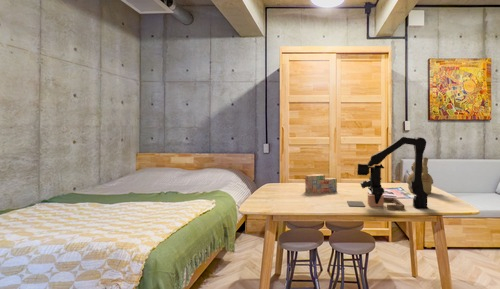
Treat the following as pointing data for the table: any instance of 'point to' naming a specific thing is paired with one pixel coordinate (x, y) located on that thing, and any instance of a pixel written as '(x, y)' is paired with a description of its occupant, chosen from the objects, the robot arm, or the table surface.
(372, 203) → the terracotta blank
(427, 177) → the ceramic vessel
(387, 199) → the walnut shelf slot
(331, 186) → the stack of blocks
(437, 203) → the table surface
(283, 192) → the table surface
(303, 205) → the table surface
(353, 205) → the charcoal mat
